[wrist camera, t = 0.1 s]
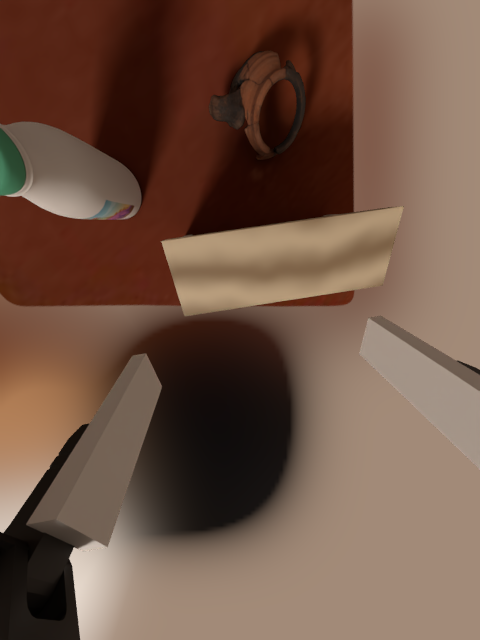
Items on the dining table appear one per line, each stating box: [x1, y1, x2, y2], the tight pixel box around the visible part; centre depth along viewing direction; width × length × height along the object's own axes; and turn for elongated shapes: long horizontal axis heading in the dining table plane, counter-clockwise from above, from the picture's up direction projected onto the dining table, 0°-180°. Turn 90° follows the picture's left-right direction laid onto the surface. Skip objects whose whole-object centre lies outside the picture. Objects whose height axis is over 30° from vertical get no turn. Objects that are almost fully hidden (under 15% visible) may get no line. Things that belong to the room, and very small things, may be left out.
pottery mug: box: [209, 51, 306, 160], centre depth 24 cm, size 12×10×8 cm
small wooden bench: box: [161, 206, 403, 316], centre depth 28 cm, size 9×26×15 cm, turn 97°
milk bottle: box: [0, 122, 141, 219], centre depth 20 cm, size 8×8×20 cm
